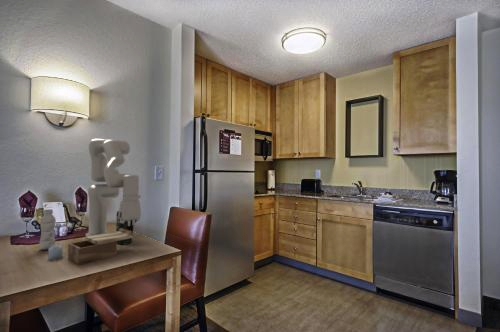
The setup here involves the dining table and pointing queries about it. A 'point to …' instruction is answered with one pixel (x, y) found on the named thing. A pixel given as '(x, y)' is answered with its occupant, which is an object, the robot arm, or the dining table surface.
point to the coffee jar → (123, 226)
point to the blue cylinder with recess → (55, 252)
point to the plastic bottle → (47, 230)
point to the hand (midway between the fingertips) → (129, 232)
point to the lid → (109, 237)
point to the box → (90, 251)
